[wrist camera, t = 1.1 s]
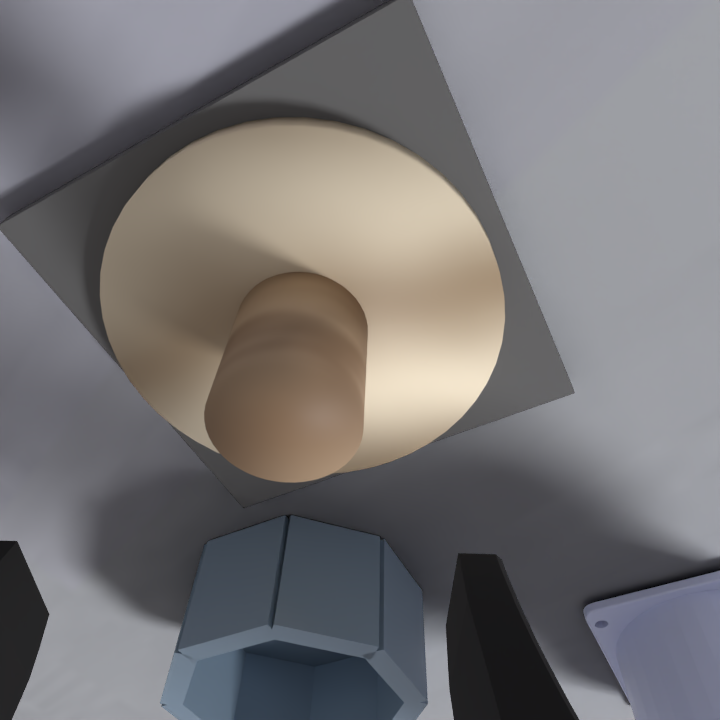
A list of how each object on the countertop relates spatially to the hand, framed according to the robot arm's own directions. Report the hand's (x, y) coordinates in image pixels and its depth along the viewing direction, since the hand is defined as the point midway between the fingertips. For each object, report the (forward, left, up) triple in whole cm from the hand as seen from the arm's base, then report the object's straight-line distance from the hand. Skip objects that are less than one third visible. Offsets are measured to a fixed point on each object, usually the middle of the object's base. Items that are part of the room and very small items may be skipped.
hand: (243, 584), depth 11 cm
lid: (0, 0, -9) cm, 9 cm away
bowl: (-12, +7, -10) cm, 17 cm away
